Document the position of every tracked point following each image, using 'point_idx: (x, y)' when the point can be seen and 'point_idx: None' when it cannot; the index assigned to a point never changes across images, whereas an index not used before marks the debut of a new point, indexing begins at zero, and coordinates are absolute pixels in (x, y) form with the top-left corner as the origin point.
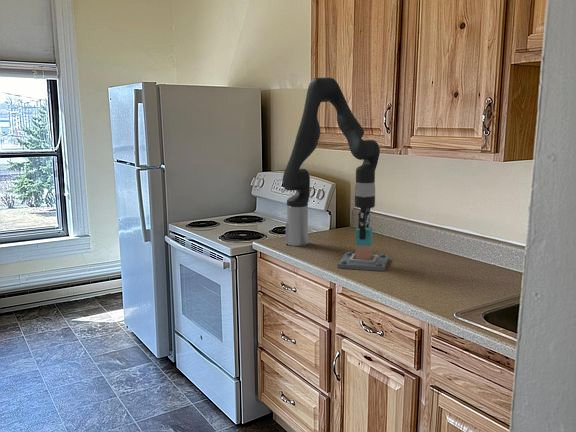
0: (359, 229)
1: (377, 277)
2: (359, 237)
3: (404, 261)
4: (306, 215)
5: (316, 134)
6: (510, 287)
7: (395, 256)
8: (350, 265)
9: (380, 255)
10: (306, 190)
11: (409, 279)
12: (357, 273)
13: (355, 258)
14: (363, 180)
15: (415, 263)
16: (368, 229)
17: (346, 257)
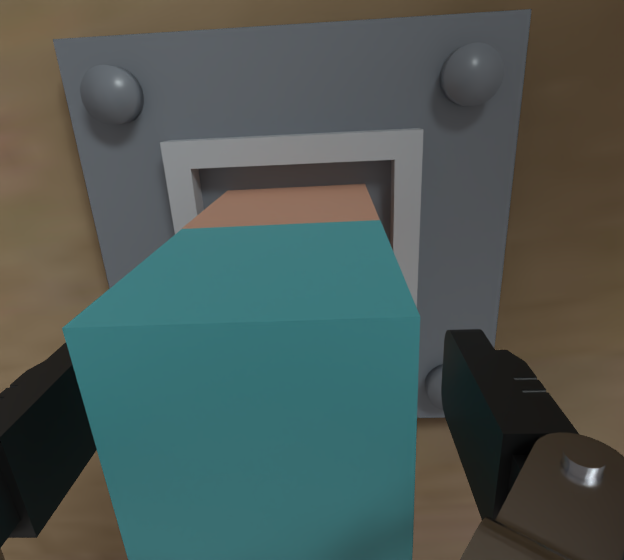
0: (129, 394)
1: (8, 380)
2: (62, 346)
3: (452, 487)
4: None
5: None
6: None
7: (590, 428)
8: (86, 173)
9: (438, 372)
10: None
11: (65, 529)
12: (25, 244)
13: (222, 196)
14: None
15: (416, 541)
16: (205, 538)
17: (332, 72)
